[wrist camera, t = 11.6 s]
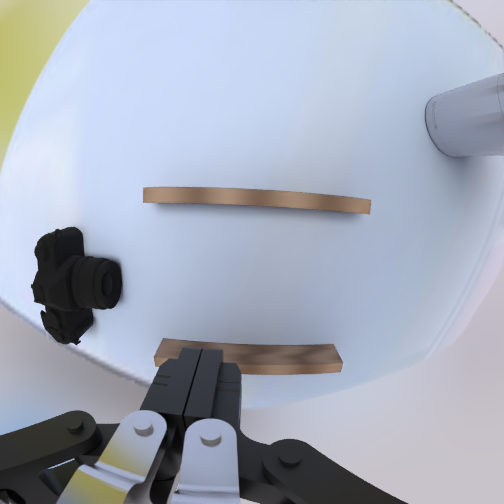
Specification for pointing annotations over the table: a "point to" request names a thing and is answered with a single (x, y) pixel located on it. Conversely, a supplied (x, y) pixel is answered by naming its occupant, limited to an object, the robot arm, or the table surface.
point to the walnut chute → (259, 356)
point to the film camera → (72, 284)
